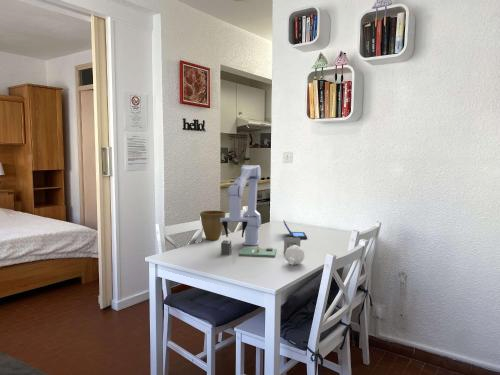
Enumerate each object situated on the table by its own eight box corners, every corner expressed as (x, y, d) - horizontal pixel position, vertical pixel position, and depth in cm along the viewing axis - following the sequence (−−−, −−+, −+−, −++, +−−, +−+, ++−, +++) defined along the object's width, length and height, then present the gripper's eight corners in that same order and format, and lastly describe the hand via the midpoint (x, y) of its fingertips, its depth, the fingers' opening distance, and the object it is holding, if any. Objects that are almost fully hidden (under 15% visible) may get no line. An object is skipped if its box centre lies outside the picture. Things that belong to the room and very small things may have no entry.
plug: (223, 251, 198) (223, 240, 198) (231, 252, 198) (231, 240, 197) (221, 254, 192) (221, 243, 192) (229, 255, 192) (228, 243, 191)
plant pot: (221, 242, 218) (221, 214, 216) (196, 241, 221) (196, 213, 219) (228, 236, 232) (228, 210, 231) (204, 235, 235) (204, 209, 234)
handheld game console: (307, 239, 226) (307, 224, 225) (284, 239, 226) (284, 224, 225) (304, 234, 242) (304, 219, 241) (282, 233, 242) (283, 219, 241)
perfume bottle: (285, 256, 184) (279, 266, 173) (290, 239, 181) (285, 248, 170) (302, 262, 182) (297, 273, 171) (308, 246, 179) (303, 256, 168)
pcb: (242, 249, 203) (242, 242, 203) (276, 250, 201) (276, 244, 200) (238, 255, 191) (238, 248, 191) (274, 257, 189) (275, 250, 188)
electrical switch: (283, 253, 195) (283, 237, 195) (284, 252, 199) (284, 236, 199) (300, 254, 193) (300, 238, 193) (300, 253, 198) (301, 237, 198)
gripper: (219, 210, 185) (219, 238, 186) (249, 210, 185) (249, 238, 186) (220, 208, 192) (220, 235, 193) (249, 208, 193) (249, 235, 193)
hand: (234, 236), depth 190 cm, fingers open, 7 cm apart
